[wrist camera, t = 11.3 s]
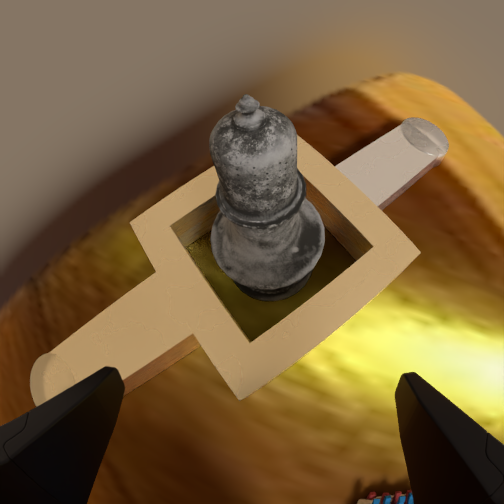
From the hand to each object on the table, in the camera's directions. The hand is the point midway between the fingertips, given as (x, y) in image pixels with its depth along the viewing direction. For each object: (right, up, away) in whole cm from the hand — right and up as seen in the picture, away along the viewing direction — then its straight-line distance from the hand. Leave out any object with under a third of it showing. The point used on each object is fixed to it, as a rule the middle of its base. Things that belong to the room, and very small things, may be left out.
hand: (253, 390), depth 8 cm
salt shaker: (+1, +3, +10) cm, 11 cm away
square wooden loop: (-4, 0, +9) cm, 10 cm away
